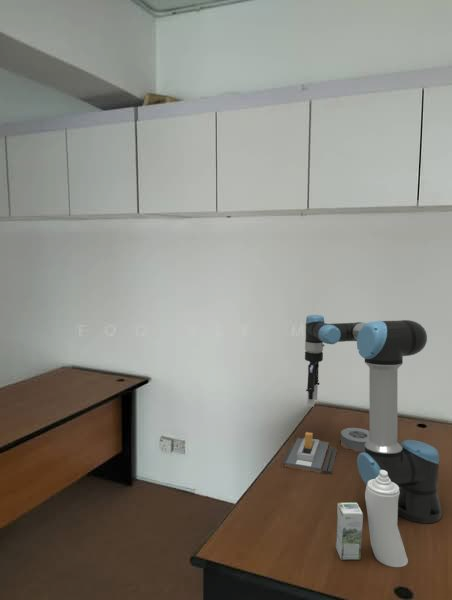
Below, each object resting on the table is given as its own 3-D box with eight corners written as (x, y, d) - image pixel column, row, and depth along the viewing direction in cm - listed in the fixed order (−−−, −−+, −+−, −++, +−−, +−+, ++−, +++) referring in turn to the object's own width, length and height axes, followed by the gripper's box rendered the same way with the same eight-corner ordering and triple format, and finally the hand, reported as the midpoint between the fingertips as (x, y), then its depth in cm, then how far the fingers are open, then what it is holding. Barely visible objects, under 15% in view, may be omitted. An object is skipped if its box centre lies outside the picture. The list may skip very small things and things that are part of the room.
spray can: (378, 571, 126) (382, 485, 123) (356, 547, 136) (360, 466, 133) (414, 564, 129) (419, 479, 126) (390, 541, 139) (394, 462, 136)
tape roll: (382, 449, 203) (383, 438, 203) (354, 454, 198) (354, 443, 197) (360, 436, 218) (361, 425, 217) (333, 440, 212) (333, 430, 211)
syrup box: (354, 547, 136) (356, 501, 134) (361, 561, 130) (363, 512, 128) (335, 547, 136) (337, 501, 134) (341, 561, 130) (342, 512, 128)
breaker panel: (331, 475, 179) (331, 464, 179) (281, 466, 186) (281, 456, 185) (337, 448, 204) (338, 438, 203) (294, 441, 210) (294, 432, 210)
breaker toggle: (311, 453, 193) (311, 435, 192) (304, 452, 194) (305, 434, 193) (312, 450, 196) (312, 432, 195) (305, 449, 197) (306, 431, 196)
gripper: (319, 357, 186) (317, 411, 188) (326, 347, 205) (324, 396, 208) (300, 355, 188) (299, 409, 191) (309, 345, 208) (307, 394, 210)
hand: (312, 402), depth 199 cm, fingers open, 8 cm apart
